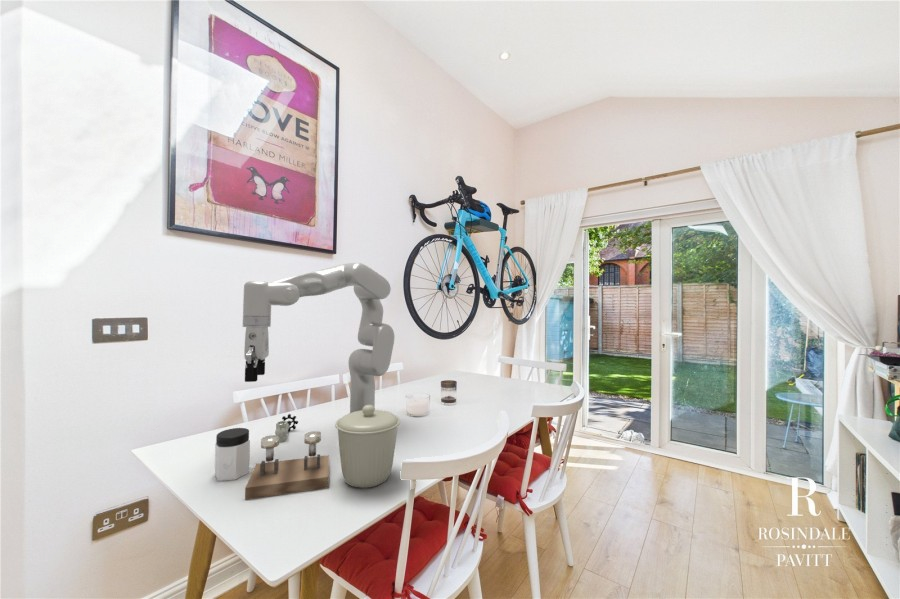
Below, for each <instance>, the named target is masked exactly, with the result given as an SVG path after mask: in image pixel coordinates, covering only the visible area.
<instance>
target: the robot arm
mask: <svg viewBox="0 0 900 599" xmlns="http://www.w3.org/2000/svg"><path fill="white" fill-rule="evenodd" d="M352 286H353V292H354V294H355V296H356V297H357V299H358V300H359V302H360V304H361V309H362V310H361V316H360V317H361V318H360V321H359V322H360V323H359V327H358V332H357V340H358V343H359V344H361V345H363V346H366V347H372V349H367V348H357V349H355V350H353V351H352V352H351V353H350V355H349V357H348V364H347V365H348V369H349V377H350V389H349V390H350V394H349V399H350V400H349V413H352V412H355V411H361V410H362V409H363V407H364V406H365V405H373V406H374V408H375V404H376V403H375V402H376V401H375V399H376V396H375V395H376V394H375V393H376V381H375V377H381V376H383V375H385V374H386V373H387V372H388V370H389V368H390V364H391V359H392V355H393V349H394V344H395V332H394V329H393V327H392V326H390V325H389V324H387V323H383V319H384V318H383V317H384V306H383V304H382V302H381V300H384V299H386V298H388V297H389V295H390V294H391V291H392V289H391V284H390V282H389V280H387V279H386V278H385V277H384V276H383V275H381V274H379V273H378V272H377V271H376V270H374V269H372V268H371V267H369V266H368V265H366V264H364V263H361V262H355V263H354V262H352V263H343V264H338V265H335V266H331V267H327V268H324V269H320V270H316V271H312V272H308V273H304V274H302V275H301V274H300V275H296V276H290V277H288V278H283V279H279V280H276V281H272V282H267V281H254V280H253V281H252V280H250V281H246V282H245V283H244V286H243V300H242V301H243V302H242V303H243V304H242V307H243V308H242V328H245V334H244V336H245V337H244V353H243V354H244V356H243V358H244V360H245V365H244V366H245V368H244V382H245V383H252V382H254V383H255V382H258V377H259V376H264V375H265V373H266V358H267V357H268V356H269V355H270V354H269V353H270V352H269V351H270V349H269V348H270V347H269V338H270V337H269V328H270V327H271V326H272V323H271V322H272V321H271V318H272V306H283V307H284V306H285V307H288V306H293V305H294V304H296V303H297V302H298V301H299V300H300V298H302V297H314V296H322V295H325V294H328V293H332V292H334V291H337V290H340V289H343V288H346V287H347V288H349V287H352ZM375 409H376V408H375Z"/></svg>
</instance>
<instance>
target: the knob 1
mask: <svg viewBox="0 0 900 599" xmlns="http://www.w3.org/2000/svg"><path fill="white" fill-rule="evenodd" d="M279 445H280V443H279V436H277V435H275V434H270V435H266V436H264V437H262V438H261V439H260V448H261V449H265V462H266V463H267V462H274V461H275V457H274V456H275V448H277V447H278V446H279Z"/></svg>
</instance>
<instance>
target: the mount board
mask: <svg viewBox="0 0 900 599" xmlns="http://www.w3.org/2000/svg"><path fill="white" fill-rule="evenodd" d="M316 455H317V456H313V457H310V456H309V455H304V457H303V458H302V457H301V458H293V459H286V460H280V459H279V458H276V459H275V458H274V461H270V462H267V461H266V460H261V462H260V463H255V465H254V468H253V469H252V472H251V475H250V477H249V479H248V480H247V483H246V485H245V488H244V500H246V501H247V500H254V499H261V498H267V497H273V496H281V495H288V494H295V493H296V494H297V493H302V492H309V491H315V490H322V489H329V486H330V485H329V480H330V478H329V475H330V474H329V471H330V469H329V468H330V456H329V455H327V454H326V455H321V454H316Z"/></svg>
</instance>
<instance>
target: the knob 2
mask: <svg viewBox="0 0 900 599" xmlns="http://www.w3.org/2000/svg"><path fill="white" fill-rule="evenodd" d="M303 439H304V444H306V445H308V457H309V458H310V457H317V456H316V455H317V444H318V443H320V442H321V441H322V432H321V431H319V430H318V431H316V430H315V431H309V432H306V433H305V434H304V438H303Z"/></svg>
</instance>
